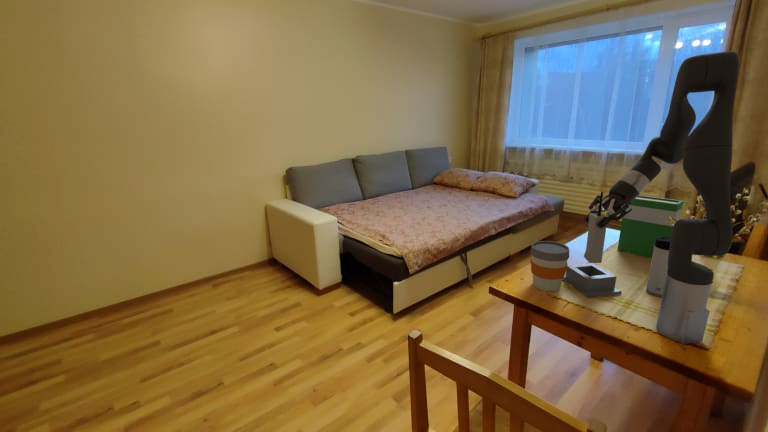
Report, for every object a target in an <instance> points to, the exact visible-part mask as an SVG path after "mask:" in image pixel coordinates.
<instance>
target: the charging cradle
mask: <svg viewBox="0 0 768 432" xmlns="http://www.w3.org/2000/svg"><path fill="white" fill-rule="evenodd" d="M562 281H564V282H565V283H567V284H568V285H570V286H571V287H573V288H574V289H575V290H577V291H578V292H579V293H581V294H582V295H583V296H585V297H586V298H588V299H593V298H602V297H609V296H618V295H619V296H620V295H622V290H621V289H620V288H617V287H616V281H617V275H615V274H613V273H612V272H611V271H608V270H606V269H605V268H604V267H601V266H599V265H598V264H597V263H590V262H588V263H580V264H579V263H578V264H571V265H569V264H568V265H567V269H566V273H565V276H564V277H563V279H562Z"/></svg>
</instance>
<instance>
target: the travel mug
mask: <svg viewBox="0 0 768 432" xmlns="http://www.w3.org/2000/svg"><path fill="white" fill-rule="evenodd" d="M670 240H671V237H661V238H656V241H655V245H654V250H653V256H652V258H651V263H650V267H649V273H648V279H647V283H646V290H645V291H646V293H648V294H650V295H652V296H654V297H658V298H662V295H663V290H664V285H665V280H666V275H667V270H668V255H669V249H670Z"/></svg>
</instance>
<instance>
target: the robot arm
mask: <svg viewBox="0 0 768 432" xmlns="http://www.w3.org/2000/svg"><path fill="white" fill-rule="evenodd" d="M739 68H740V60H739V56H738V54H737V53H736V52H735V51H733V50H731V51H730V50H729V51H718V52H711V53H704V54H701V53H700V54H694V55H691V56H688V57H686V58H685V59H684V60H683V61H682V62H681V64H680V66H679V69H678V71H677V74H676V80H675V82H674V86H673V91H672V93H671V94H672V95H671V100H670V105H669V107H668V108H669V109H668V114H667V115H666V119H665V121H664V123H663V126H662V128H661V129H660V133H659V135H657V136H654V137H653V138H652V139H651V140H650V141H649V143H648V145H647V146H646V149H645V151H644V153H643V155H642V156H641V158H640V159H639V160H638V161H637V162H636V163H635V165H633V166H632V168H630V170H628V171H627V172H626V173H625V174H624V175H622V176H621V178H619V180H617V181H616V183H615V184H613V186H612V187H611V188H610V189H609V191H608V194H607V195H605V196H603V197H602V208H601V213H605V212H607V213H606V214H605V215H604V217H603V218H602V219H601V220H600V221H599V222H598V223H597V226H598V227H599V228H601V229H602V228H604V227H605V226H606V225H607V226H608V224H609V223H610V222H614V221H615V222H619V221H620V220H622V218H623V217H624V216H625V215H626V214H628V213H629V212H630V211H632V208H631V207H630V206H629V205H628V204H630V203H631V202H632V201H633V200H634V199H635V198H636V197H637V196H638V195H641V193H642V192H643V191H644V190H645V189H646V188H647V187H648V185H650V183H652V181H653V180H654V179H655V178H657V176H658V175H659V174H660V173H661V171H662V167H661V165H660V164H659V163H658V162H657V161H655V160H654V159H653V157H654V158H656V159H658V160H660V161H662V162H663V163H666V164H667V165H668V164H669V165H674V164H677V163H679V162H682V168H683V169H682V170H683V172H684V173H685V176H686V178H687V179H688V181H689V182H690V183H691V184H692V186H693V187H694V188H695V190H696V191H697V192H698V193H699V195H700V196H701V199H702V201H703V202H704V207H705V215H706V217H705V219H704V218H701V219H700V218H680V220H678V221H677V222H676V223H675V224H674V226H673V229H672V233H671V240H670V249H669V255H668V270H667V275H666V280H665V285H664V290H663V295H662V297H661V299H660V307H659V311H658V316H657V322H656V325H655V328H656V330H657V332H658V333H659V334H660V335H662V336H664V337H666V338H667V339H669V340H672V341H675V342H678V343H680V345H687V344H693V343H694V344H696V343H701V342H703V341H704V336H705V331H706V327H707V325H708V319H709V316H710V309H707V305H708V301H709V296H710V292H711V289H712V285H713V280H714V276H715V273H714V272H713V270H712V269H711V268H709V267H707V266H705V264H701V263H699V262H696V261H692V260H693V256H709V257H710V256H711V257H712V256H713V257H721V256H724V255H727V253H728V252H730V250H731V246H732V244H733V243H732V242H733V234H734V233H733V220H732V207H731V174H732V173H731V171H732V163H733V162H732V161H733V123H734V122H733V121H734V107H735V101H736V100H735V99H736V92H737V85H738V79H739V72H740V71H739V70H740V69H739ZM704 92H705V93H707V92H714V93H713V94H714V95H713V100H712V103H711V105H710V107H709V109H708V111H707V113H706V114H705V116H704V117H703V118H702V119H701V121H700V122H699V123H698V124H697V125H696V126H695V124H696V120H697V114H696V112H695V110H694V108H693V105H691V103H690V102H689V101H690V100H689V99H688V95H689V94H691V93H693V94H694V93H696V94H697V93H704ZM694 126H695V128H694ZM600 196H601V194H599V195H597V196H596V197H595V198H594V199H593V201H592V202H591V203H590V204H589V206H588V209H589V210H590V212H589V213H598V209H599V204H600ZM589 213H587V215H586V216H584V219H583V220H584V221H585V223H587V224H588V221H589ZM605 216H606V217H605ZM607 226H606V227H607Z"/></svg>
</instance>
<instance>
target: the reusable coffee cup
mask: <svg viewBox="0 0 768 432" xmlns="http://www.w3.org/2000/svg"><path fill="white" fill-rule="evenodd" d="M530 255H531V258H530V271H531V273H532V283H533V284H532V285H533V286H534V288H536V289H538V290H540V291H544V292H557V291H559V290H560V289H561V286H562V283H563V277H564V276H565V274H566V269H567V266H568V265H569V264H568V259H570V247H569V246H568V245H566V244H564V243H561V242H558V241H552V240H541V241H540V240H538V241H534V242H533V243H531V247H530Z"/></svg>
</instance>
